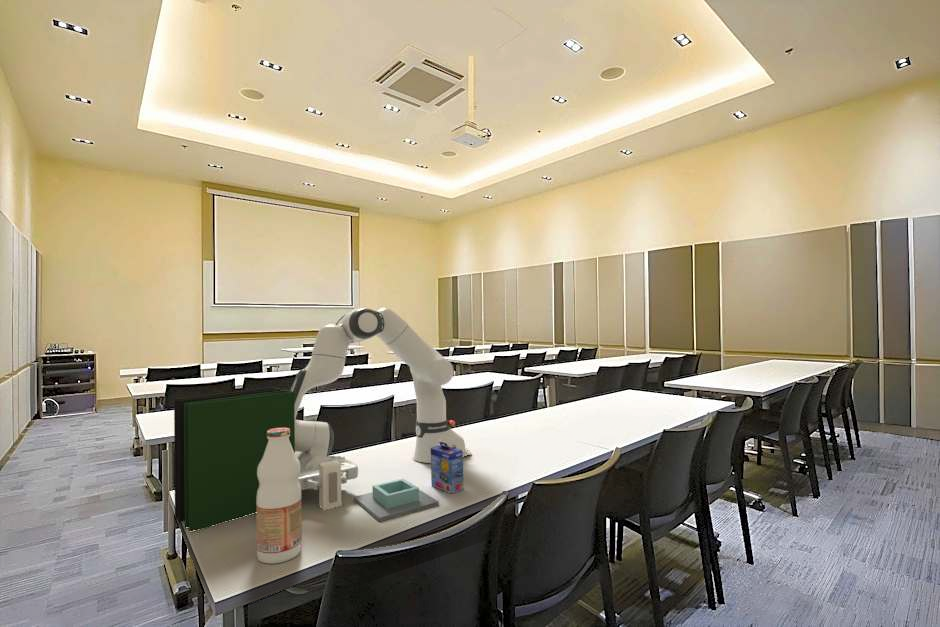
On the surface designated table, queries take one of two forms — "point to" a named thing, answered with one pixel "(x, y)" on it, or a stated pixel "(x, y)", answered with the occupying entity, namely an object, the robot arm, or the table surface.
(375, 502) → the socket dock
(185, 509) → the binder
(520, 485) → the table surface
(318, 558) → the table surface
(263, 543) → the fruit juice
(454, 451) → the ink cartridge box
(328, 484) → the keyed plug
